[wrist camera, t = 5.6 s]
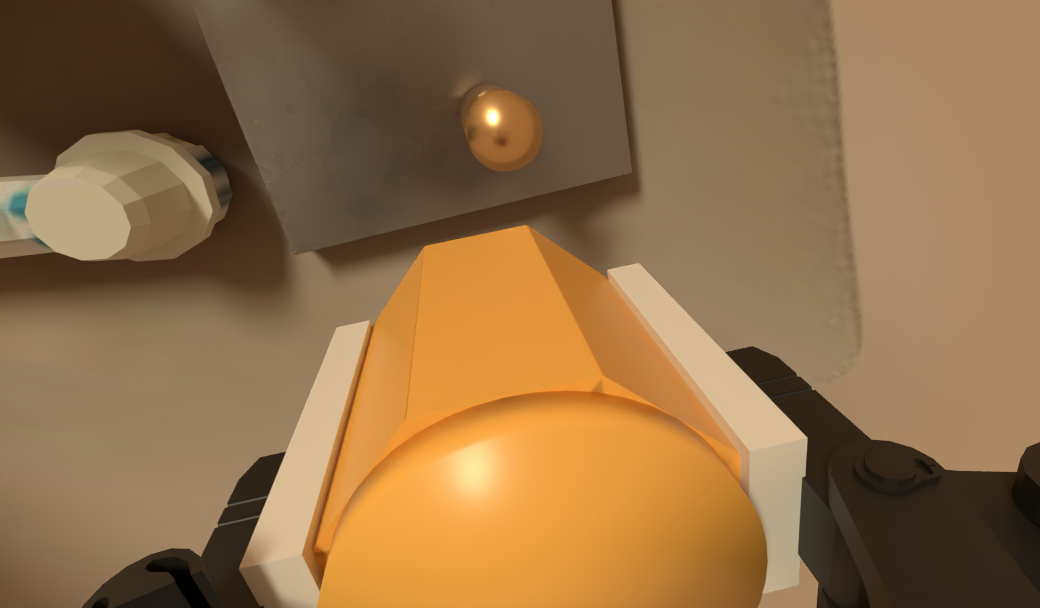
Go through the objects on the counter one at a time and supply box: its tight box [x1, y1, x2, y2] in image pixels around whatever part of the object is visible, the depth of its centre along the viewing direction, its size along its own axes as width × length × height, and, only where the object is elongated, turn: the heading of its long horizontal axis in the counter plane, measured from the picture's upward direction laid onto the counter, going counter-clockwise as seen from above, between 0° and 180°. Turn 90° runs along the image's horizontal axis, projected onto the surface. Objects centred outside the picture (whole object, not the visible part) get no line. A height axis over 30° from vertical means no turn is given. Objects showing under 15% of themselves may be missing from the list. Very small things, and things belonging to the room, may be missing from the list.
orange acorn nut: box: [312, 225, 768, 608], centre depth 10 cm, size 6×6×7 cm
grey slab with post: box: [189, 0, 632, 255], centre depth 19 cm, size 16×16×9 cm
